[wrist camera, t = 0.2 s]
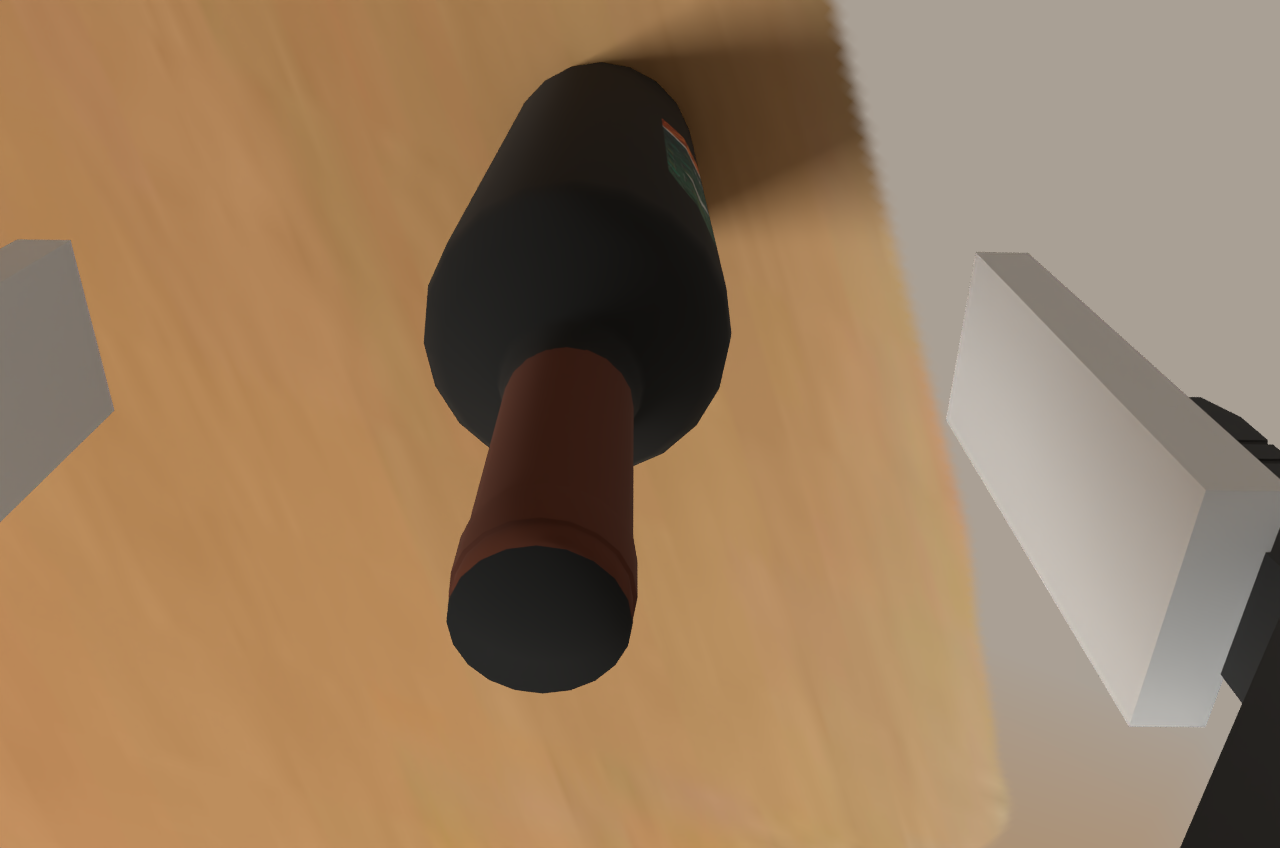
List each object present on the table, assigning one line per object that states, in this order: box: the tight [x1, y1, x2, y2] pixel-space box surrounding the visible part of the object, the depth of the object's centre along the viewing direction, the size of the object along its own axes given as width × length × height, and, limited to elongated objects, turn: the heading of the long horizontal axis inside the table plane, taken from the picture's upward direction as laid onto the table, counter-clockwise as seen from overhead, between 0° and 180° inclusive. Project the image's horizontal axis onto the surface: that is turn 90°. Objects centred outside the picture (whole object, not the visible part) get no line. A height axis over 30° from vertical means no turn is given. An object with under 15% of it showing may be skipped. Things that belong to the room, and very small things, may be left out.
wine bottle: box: [424, 62, 731, 693], centre depth 28 cm, size 8×8×30 cm
